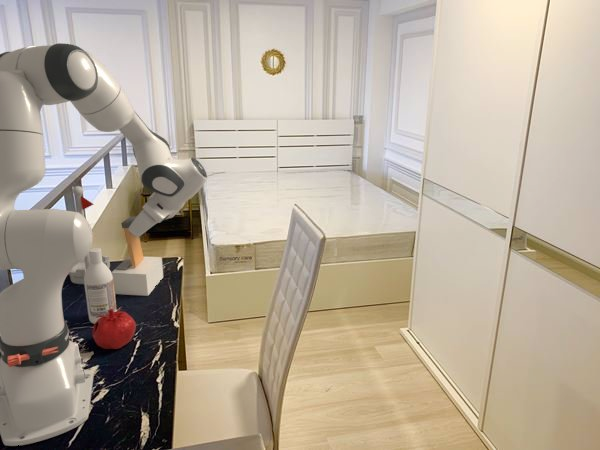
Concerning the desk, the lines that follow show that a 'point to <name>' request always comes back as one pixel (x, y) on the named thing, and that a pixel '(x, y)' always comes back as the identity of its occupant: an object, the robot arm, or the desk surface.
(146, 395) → the desk surface
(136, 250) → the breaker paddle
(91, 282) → the bath foam
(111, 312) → the pomegranate
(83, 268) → the flag stand
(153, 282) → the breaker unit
